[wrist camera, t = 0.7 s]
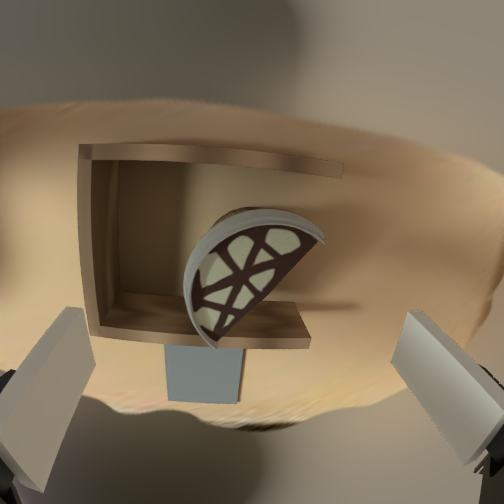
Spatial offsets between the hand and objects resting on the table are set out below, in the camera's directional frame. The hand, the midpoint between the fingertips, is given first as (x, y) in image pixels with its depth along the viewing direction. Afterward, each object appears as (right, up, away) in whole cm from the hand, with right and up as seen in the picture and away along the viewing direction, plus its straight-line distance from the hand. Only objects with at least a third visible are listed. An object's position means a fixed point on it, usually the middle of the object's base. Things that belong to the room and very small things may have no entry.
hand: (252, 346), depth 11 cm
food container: (-2, +5, +19) cm, 20 cm away
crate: (-5, +5, +18) cm, 20 cm away
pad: (-6, -9, +23) cm, 26 cm away
